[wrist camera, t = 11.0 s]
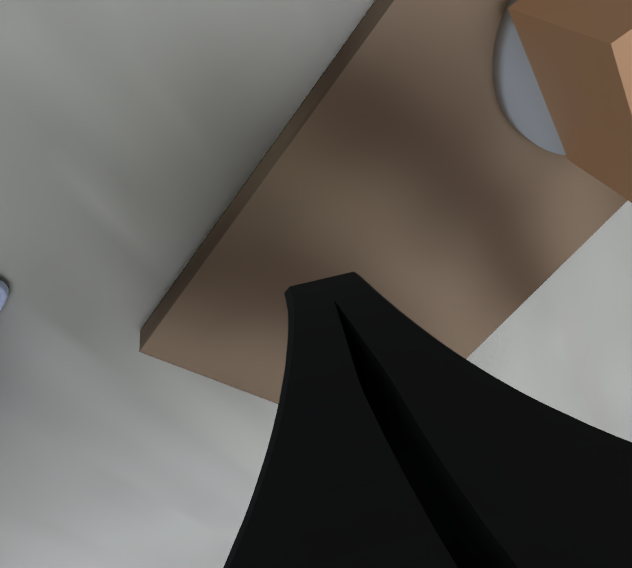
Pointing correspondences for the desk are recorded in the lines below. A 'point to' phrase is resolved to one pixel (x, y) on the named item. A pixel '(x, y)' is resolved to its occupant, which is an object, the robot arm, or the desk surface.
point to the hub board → (391, 197)
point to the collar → (585, 79)
